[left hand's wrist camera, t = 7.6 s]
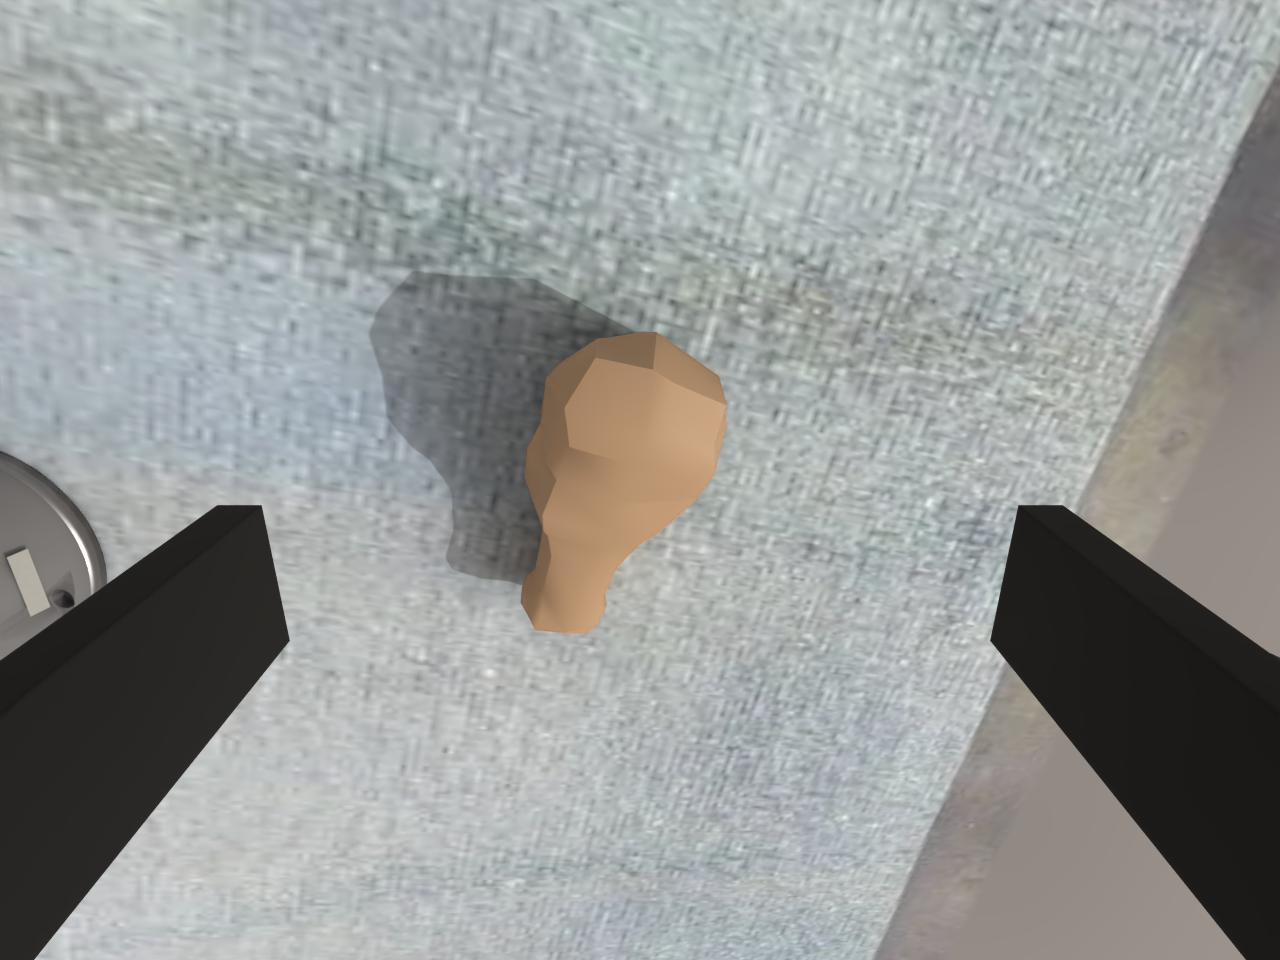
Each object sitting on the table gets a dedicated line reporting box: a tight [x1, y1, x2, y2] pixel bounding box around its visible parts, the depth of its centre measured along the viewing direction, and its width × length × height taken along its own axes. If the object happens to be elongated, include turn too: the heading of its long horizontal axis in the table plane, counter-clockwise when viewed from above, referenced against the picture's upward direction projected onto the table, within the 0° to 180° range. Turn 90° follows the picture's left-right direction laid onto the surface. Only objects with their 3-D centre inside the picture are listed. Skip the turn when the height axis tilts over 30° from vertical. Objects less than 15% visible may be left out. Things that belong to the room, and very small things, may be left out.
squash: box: [521, 332, 727, 634], centre depth 41 cm, size 11×20×9 cm, turn 164°
